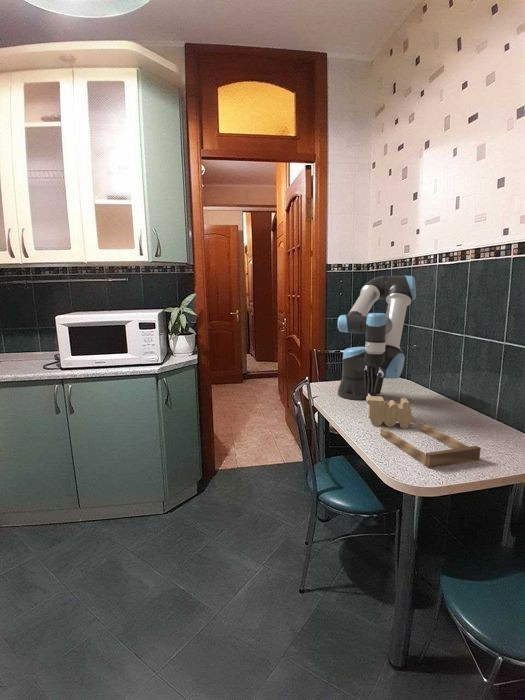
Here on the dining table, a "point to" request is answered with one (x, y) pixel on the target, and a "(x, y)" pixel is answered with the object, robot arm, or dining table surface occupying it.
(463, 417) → the dining table surface
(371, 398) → the toy train
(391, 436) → the frame
